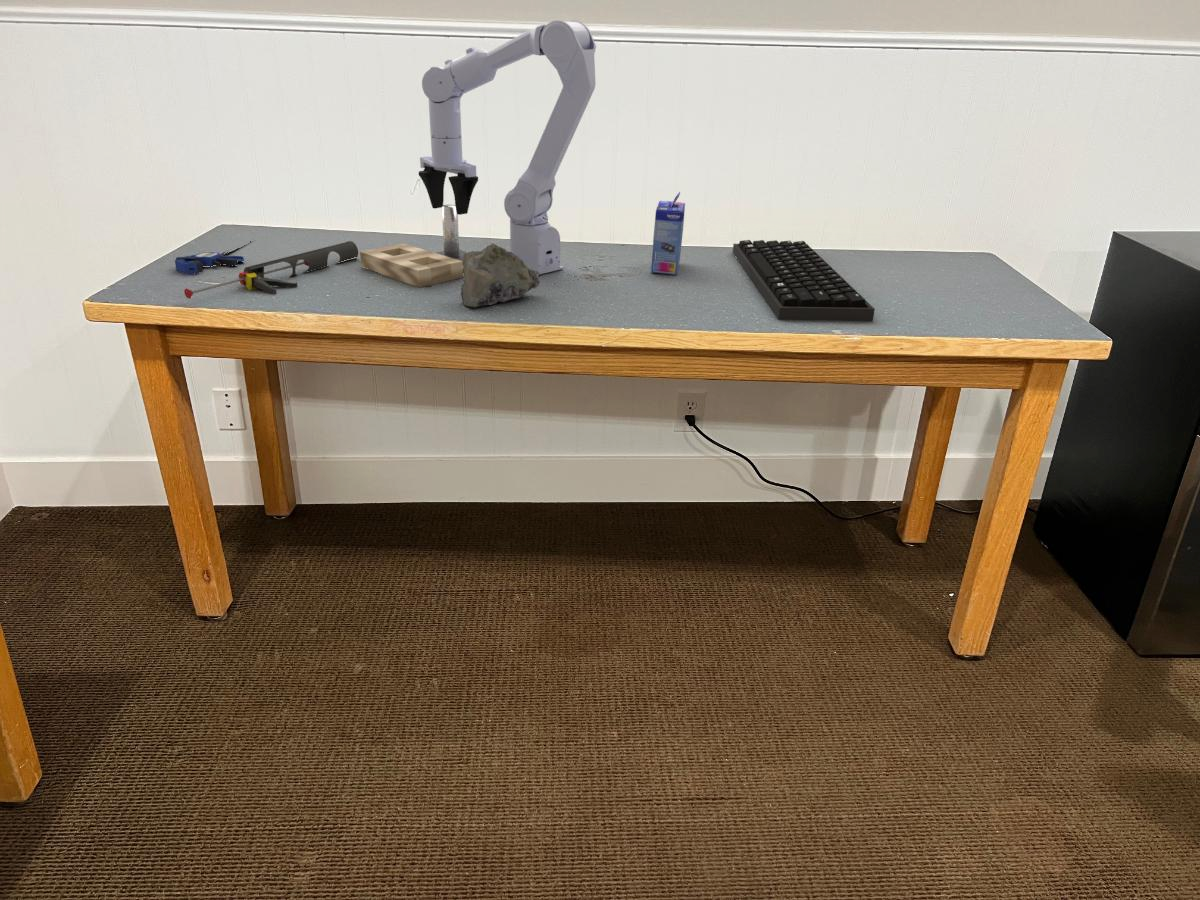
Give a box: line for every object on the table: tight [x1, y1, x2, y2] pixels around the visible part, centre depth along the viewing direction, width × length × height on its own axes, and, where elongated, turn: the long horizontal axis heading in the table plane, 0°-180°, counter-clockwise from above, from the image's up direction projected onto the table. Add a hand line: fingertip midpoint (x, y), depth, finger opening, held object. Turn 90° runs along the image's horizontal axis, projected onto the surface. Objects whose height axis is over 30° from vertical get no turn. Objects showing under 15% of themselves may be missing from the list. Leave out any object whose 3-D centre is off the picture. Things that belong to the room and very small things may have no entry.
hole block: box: [359, 243, 464, 288], centre depth 162 cm, size 18×10×3 cm, turn 47°
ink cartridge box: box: [650, 191, 686, 276], centre depth 168 cm, size 10×6×14 cm, turn 173°
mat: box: [436, 249, 466, 265], centre depth 172 cm, size 10×10×1 cm
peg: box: [441, 204, 460, 259], centre depth 170 cm, size 3×3×10 cm
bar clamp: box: [174, 251, 245, 275], centre depth 172 cm, size 32×2×10 cm
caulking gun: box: [184, 240, 359, 299], centre depth 155 cm, size 4×37×10 cm
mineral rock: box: [460, 243, 541, 308], centre depth 146 cm, size 13×11×10 cm
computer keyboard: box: [732, 239, 876, 322], centre depth 163 cm, size 45×16×4 cm, turn 2°
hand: (449, 210), depth 168 cm, fingers open, 7 cm apart
